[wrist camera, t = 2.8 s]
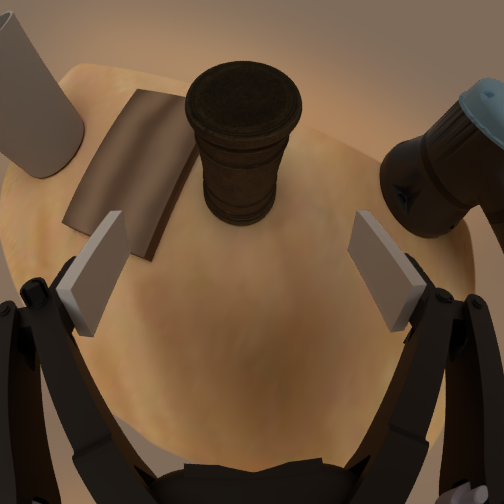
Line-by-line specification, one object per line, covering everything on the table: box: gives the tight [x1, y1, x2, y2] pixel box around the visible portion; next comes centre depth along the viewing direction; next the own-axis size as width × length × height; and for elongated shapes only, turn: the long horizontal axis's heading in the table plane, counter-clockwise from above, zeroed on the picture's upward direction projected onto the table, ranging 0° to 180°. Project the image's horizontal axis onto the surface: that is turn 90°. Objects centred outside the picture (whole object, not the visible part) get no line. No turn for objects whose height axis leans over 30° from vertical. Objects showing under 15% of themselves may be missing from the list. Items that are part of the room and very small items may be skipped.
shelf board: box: [62, 89, 200, 262], centre depth 34 cm, size 13×22×3 cm, turn 161°
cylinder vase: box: [0, 11, 84, 178], centre depth 23 cm, size 12×12×25 cm
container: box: [185, 61, 302, 225], centre depth 27 cm, size 9×9×18 cm
